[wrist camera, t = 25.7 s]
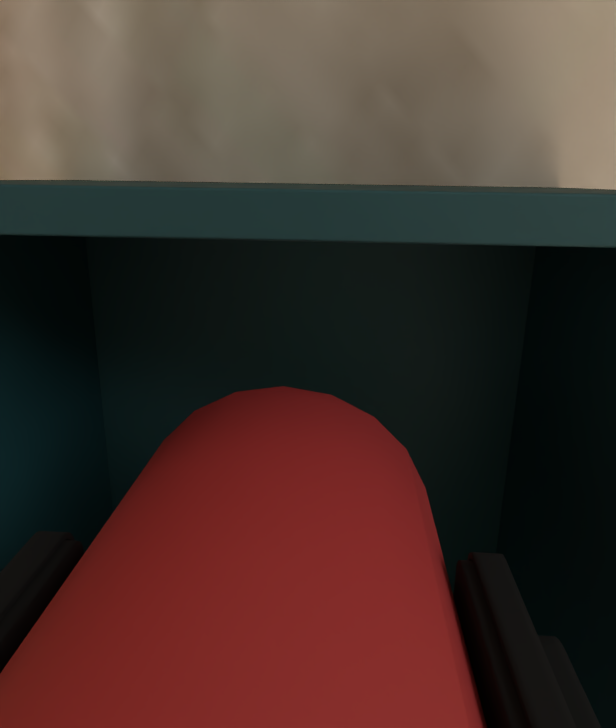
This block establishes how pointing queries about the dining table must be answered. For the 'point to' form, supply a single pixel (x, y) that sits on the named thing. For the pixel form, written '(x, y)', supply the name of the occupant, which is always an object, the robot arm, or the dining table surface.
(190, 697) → the beer can
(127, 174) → the dining table surface
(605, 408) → the case
